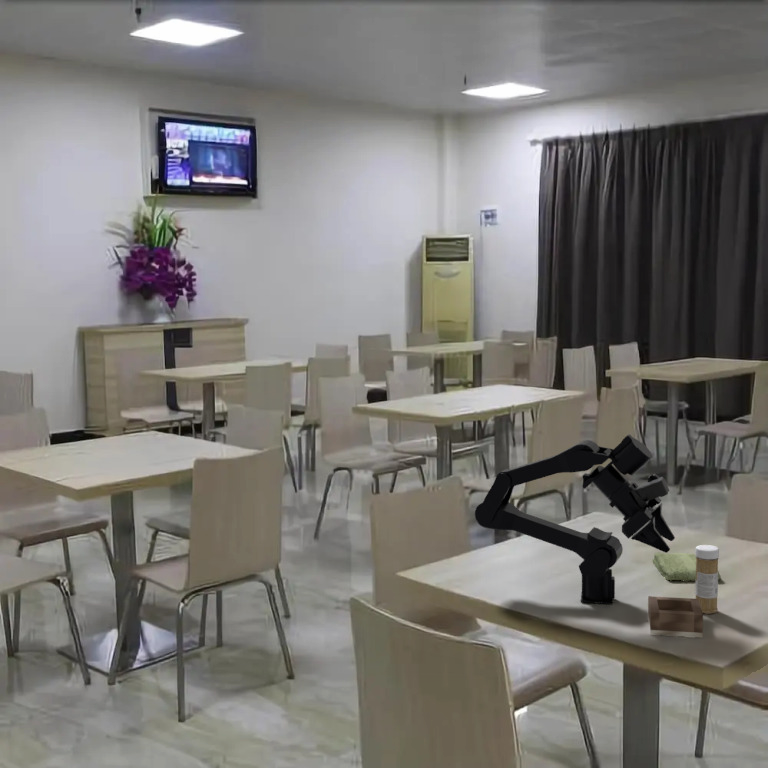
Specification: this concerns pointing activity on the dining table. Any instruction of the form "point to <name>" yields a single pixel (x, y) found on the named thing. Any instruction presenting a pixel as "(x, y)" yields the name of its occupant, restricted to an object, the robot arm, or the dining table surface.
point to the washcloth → (677, 566)
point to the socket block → (675, 616)
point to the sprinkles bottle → (707, 577)
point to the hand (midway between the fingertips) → (670, 545)
